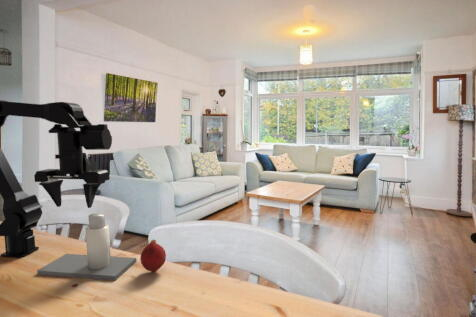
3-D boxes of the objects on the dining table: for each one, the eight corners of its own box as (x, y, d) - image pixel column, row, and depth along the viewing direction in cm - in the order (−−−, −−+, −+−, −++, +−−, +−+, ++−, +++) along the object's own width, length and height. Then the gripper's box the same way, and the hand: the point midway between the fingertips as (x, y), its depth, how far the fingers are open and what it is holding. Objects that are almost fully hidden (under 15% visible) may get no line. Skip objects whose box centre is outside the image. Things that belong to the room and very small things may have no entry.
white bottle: (84, 269, 75) (81, 218, 74) (92, 260, 81) (89, 212, 79) (107, 268, 76) (104, 217, 75) (113, 259, 81) (110, 211, 80)
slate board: (37, 274, 76) (37, 270, 75) (66, 257, 85) (66, 253, 85) (115, 280, 72) (115, 276, 72) (136, 261, 82) (136, 257, 82)
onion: (159, 279, 73) (158, 245, 72) (136, 276, 74) (135, 243, 73) (170, 267, 78) (169, 236, 78) (148, 266, 80) (147, 235, 79)
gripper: (118, 147, 92) (121, 201, 93) (60, 147, 95) (64, 199, 96) (95, 151, 81) (99, 211, 82) (30, 150, 84) (35, 208, 85)
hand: (74, 207), depth 87 cm, fingers open, 9 cm apart
